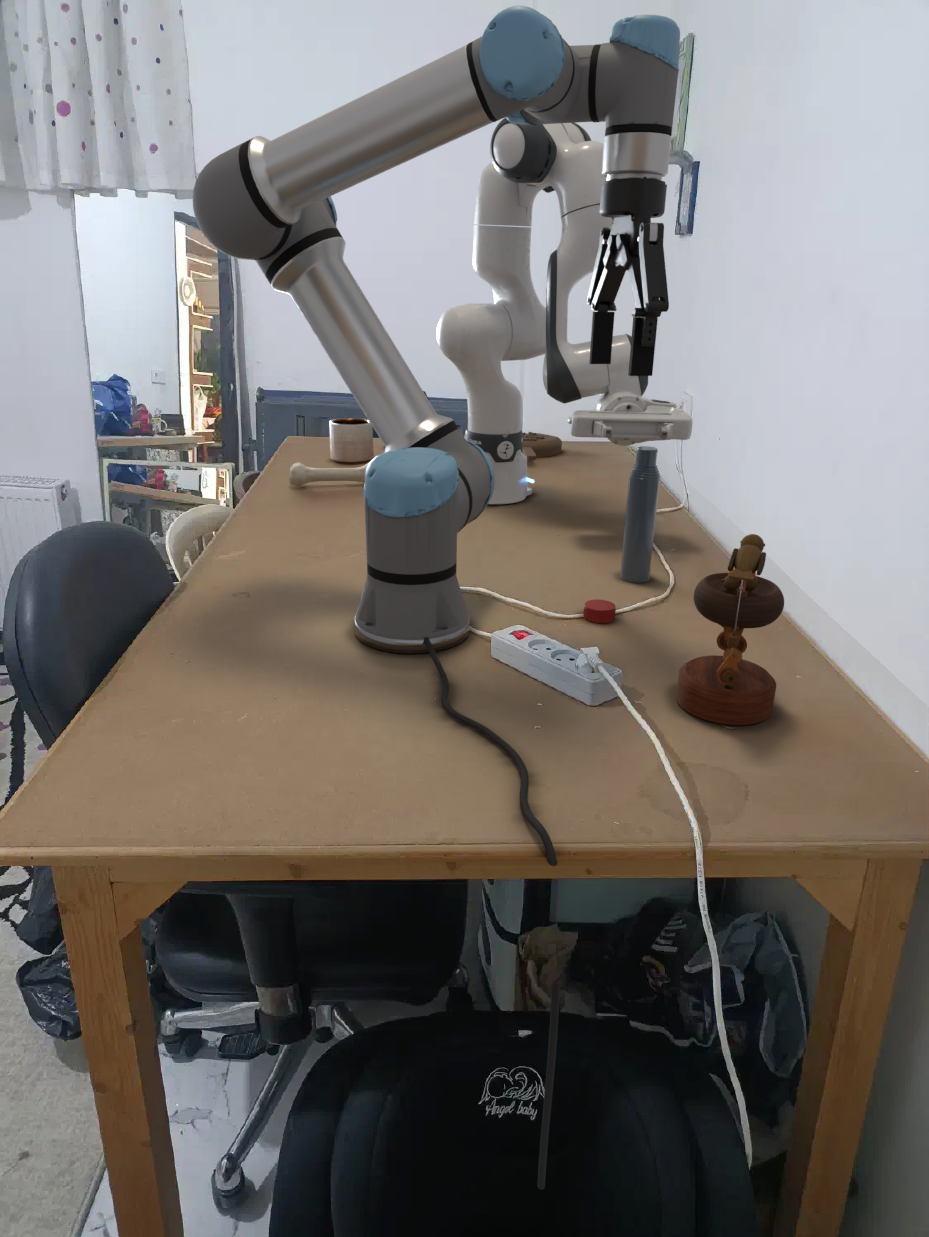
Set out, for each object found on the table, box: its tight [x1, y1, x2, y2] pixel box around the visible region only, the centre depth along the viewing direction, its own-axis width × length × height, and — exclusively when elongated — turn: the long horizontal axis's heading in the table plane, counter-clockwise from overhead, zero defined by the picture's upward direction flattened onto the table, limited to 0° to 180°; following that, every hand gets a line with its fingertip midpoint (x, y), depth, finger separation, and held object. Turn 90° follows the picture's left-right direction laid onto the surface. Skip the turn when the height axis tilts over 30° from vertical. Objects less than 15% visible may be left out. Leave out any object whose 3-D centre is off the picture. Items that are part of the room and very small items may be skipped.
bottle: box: [619, 445, 661, 584], centre depth 131 cm, size 5×5×21 cm
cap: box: [583, 599, 616, 624], centre depth 118 cm, size 4×4×2 cm
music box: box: [675, 533, 785, 726], centre depth 92 cm, size 15×11×20 cm
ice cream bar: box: [521, 431, 563, 462], centre depth 222 cm, size 21×28×4 cm
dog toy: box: [288, 461, 370, 487], centre depth 188 cm, size 20×6×5 cm, turn 99°
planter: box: [328, 417, 375, 464], centre depth 212 cm, size 11×11×10 cm
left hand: (618, 369), depth 106 cm, fingers open, 13 cm apart
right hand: (636, 433), depth 137 cm, fingers open, 8 cm apart
